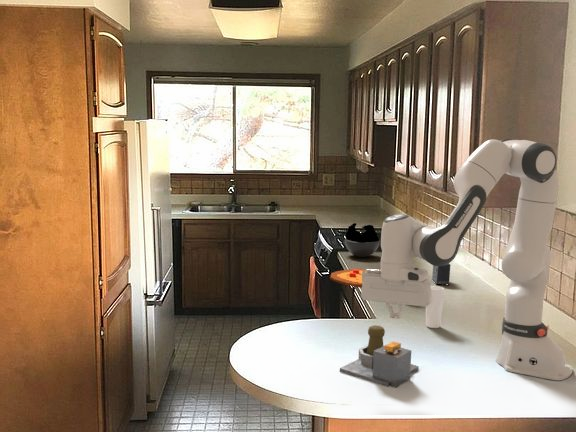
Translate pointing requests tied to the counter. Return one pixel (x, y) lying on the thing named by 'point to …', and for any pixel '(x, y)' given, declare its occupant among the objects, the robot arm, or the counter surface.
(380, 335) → the cork
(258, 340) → the counter surface
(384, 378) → the gray socket base
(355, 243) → the coal bowl
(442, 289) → the drinking glass
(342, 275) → the pizza
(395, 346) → the wedge pin
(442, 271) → the small box
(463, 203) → the robot arm
